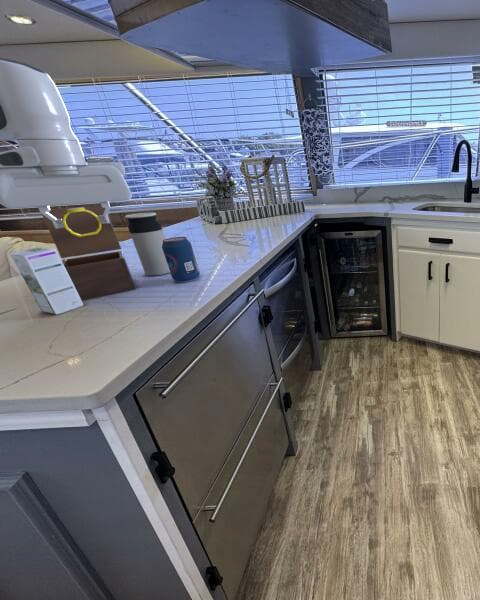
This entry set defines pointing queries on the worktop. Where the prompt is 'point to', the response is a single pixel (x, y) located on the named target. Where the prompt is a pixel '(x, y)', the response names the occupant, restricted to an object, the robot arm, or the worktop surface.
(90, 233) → the watch
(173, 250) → the soda can
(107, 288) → the chest
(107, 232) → the chest lid
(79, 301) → the syrup box
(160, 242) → the travel mug
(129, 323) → the worktop surface
